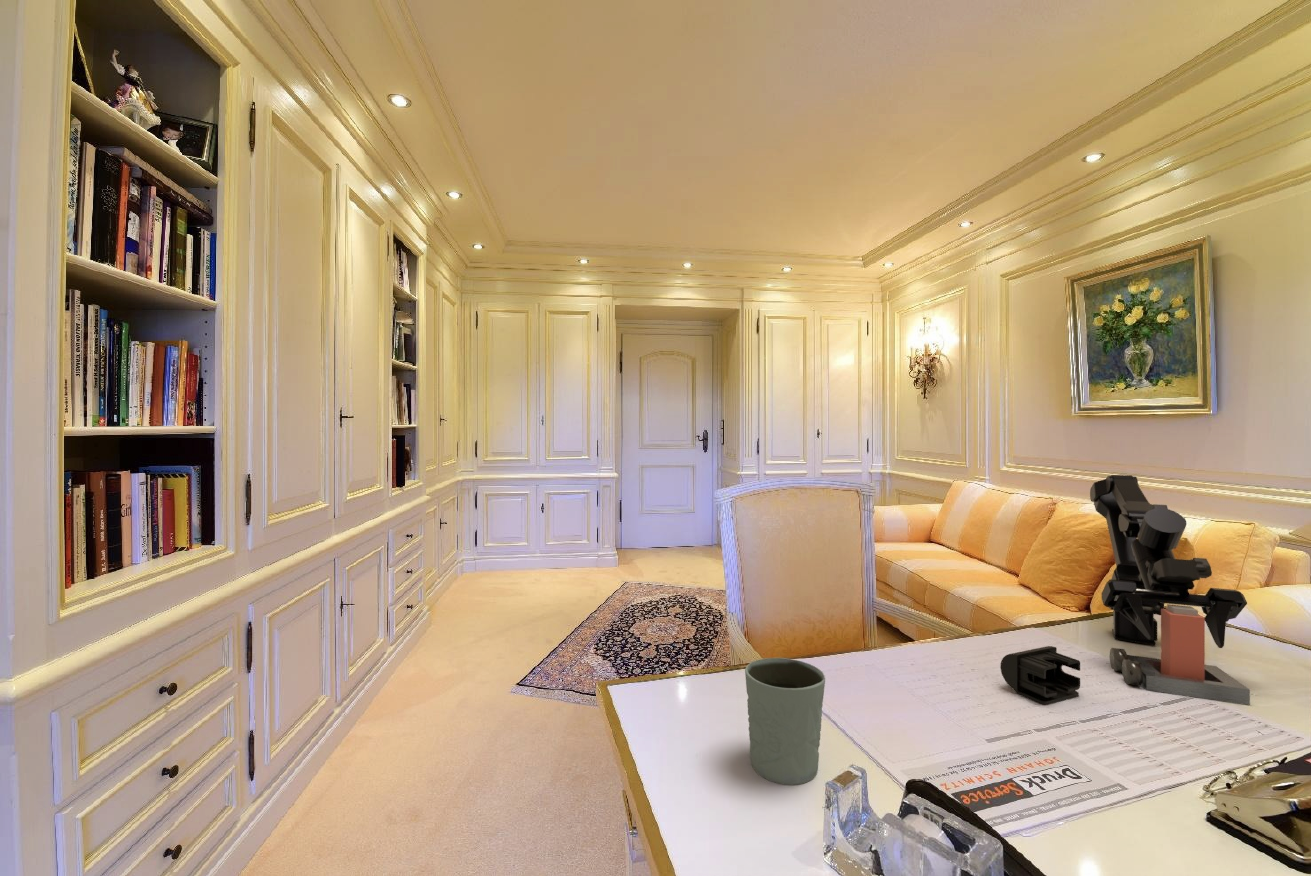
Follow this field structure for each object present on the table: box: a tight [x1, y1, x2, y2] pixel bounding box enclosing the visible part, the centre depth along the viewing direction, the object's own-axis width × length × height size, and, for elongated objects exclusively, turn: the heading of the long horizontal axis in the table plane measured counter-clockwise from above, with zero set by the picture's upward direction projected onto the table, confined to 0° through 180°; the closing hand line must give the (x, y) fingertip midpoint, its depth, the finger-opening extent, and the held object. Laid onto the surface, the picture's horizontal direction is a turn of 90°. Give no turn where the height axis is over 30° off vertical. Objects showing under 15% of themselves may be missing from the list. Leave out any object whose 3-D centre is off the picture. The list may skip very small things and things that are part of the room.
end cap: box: [999, 645, 1081, 706], centre depth 92 cm, size 10×7×7 cm
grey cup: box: [744, 657, 826, 786], centre depth 71 cm, size 10×10×12 cm
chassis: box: [1109, 647, 1251, 706], centre depth 95 cm, size 10×15×4 cm, turn 66°
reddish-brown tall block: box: [1160, 604, 1206, 680], centre depth 95 cm, size 4×4×14 cm
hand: (1185, 642), depth 94 cm, fingers open, 9 cm apart
